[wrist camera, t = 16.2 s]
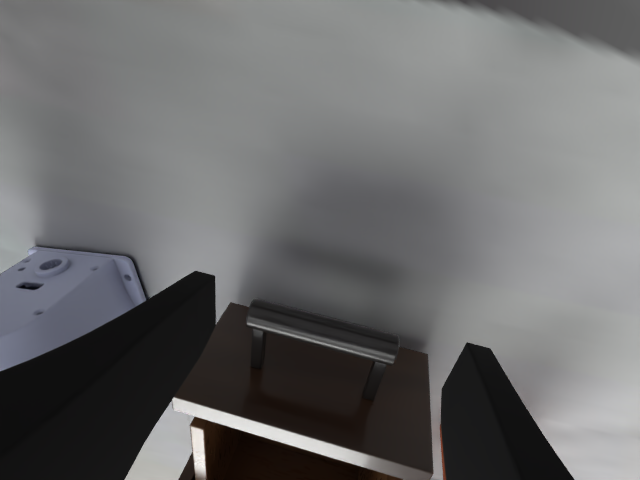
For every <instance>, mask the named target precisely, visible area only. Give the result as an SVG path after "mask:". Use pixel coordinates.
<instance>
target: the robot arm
mask: <svg viewBox="0 0 640 480" xmlns="http://www.w3.org/2000/svg"><path fill="white" fill-rule="evenodd" d="M28 255H29V256H28V257H27V258H25V259H23V260H22V261H20V262H19V263H17V264H15V265H14V266H12V267H11V268H9V269H7V270H6V271H4V272H3V273H1V274H0V480H124V479H125V477H126V476H127V474H128V472H129V470H130V468H131V466H132V465H133V463H134V461H135V459H136V457H137V455H138V453H139V452H140V450H141V448H142V446H143V444H144V442H145V441H146V439H147V438H148V436H149V434H150V433H151V431H152V429H153V428H154V426H155V425H156V423H157V422H158V420H159V419H160V417H161V416H162V414H163V413H164V411H165V410H166V408H167V407H168V405H169V404H170V402H171V401H172V399H173V398H174V396H175V395H176V393H177V392H178V390H179V389H180V387H181V386H182V384H183V383H184V381H185V379H186V378H187V376H188V375H189V373H190V372H191V370H192V369H193V367H194V366H195V364H196V363H197V361H198V360H199V358H200V356H201V354H202V352H203V351H204V349H205V347H206V345H207V343H208V341H209V339H210V337H211V335H212V332H213V330H214V328H215V326H216V310H215V276H213V275H210V274H206V273H202V272H198V271H194V272H193V273H191V274H189V275H187V276H186V277H184V278H182V279H181V280H179V281H177V282H176V283H174V284H173V285H171V286H169V287H168V288H166V289H164V290H163V291H161V292H160V293H158V294H156V295H155V296H153V297H151V298H150V299H148V300H146V298H145V295H144V292H143V289H142V286H141V284H140V281H139V278H138V275H137V272H136V270H135V267H134V264H133V262H132V260H131V259H130V258H128V257H126V256H119V255H110V254H100V253H91V252H81V251H72V250H62V249H53V248H43V247H32V248H30V249H29V250H28ZM441 433H442V444H443V454H444V464H445V474H446V480H574V478H573V477H572V476H571V474H570V473H569V471H568V470H567V468H566V467H565V466H564V464H563V463H562V461H561V460H560V459H559V457H558V456H557V454H556V453H555V451H554V450H553V448H552V447H551V445H550V444H549V443H548V441H547V440H546V438H545V437H544V435H543V434H542V432H541V430H540V429H539V427H538V426H537V424H536V423H535V421H534V420H533V418H532V416H531V415H530V413H529V412H528V410H527V409H526V407H525V405H524V404H523V402H522V401H521V399H520V397H519V396H518V394H517V392H516V391H515V389H514V387H513V386H512V384H511V382H510V381H509V379H508V377H507V376H506V374H505V372H504V371H503V369H502V367H501V366H500V364H499V362H498V361H497V359H496V357H495V356H494V354H493V352H492V351H491V349H490V348H486V347H483V346H479V345H475V344H471V343H466V345H465V347H464V349H463V351H462V352H461V354H460V356H459V358H458V360H457V362H456V364H455V365H454V367H453V369H452V371H451V373H450V375H449V376H448V378H447V380H446V382H445V384H444V386H443V388H442V398H441Z"/></svg>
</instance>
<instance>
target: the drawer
mask: <svg viewBox="0 0 640 480" xmlns="http://www.w3.org/2000/svg"><path fill="white" fill-rule="evenodd" d="M172 406H173V410H175V411H178V412H182V413H185V414H188V415H192V416H195V417H194V419H193V421H192V422H191V424H190V430H191V440H192V451H193V461H194V472H195V480H403V479H404V480H430V478H431V476H432V475H433V455H432V432H431V410H430V387H429V365H428V354H425V353H421V352H417V351H414V350H410V349H406V348H402V347H399V336H398V335H395V334H391V333H387V332H384V331H380V330H376V329H372V328H368V327H364V326H361V325H357V324H353V323H349V322H345V321H341V320H338V319H334V318H330V317H326V316H322V315H318V314H315V313H311V312H307V311H303V310H299V309H295V308H292V307H288V306H284V305H280V304H276V303H272V302H269V301H265V300H261V299H257V298H256V299H254V300H253V301H252V303H251V305H250V307H247V306H243V305H239V304H236V303H232V302H231V303H230V304H229V305H228V307H227V309H226V310H225V312H224V313H223V315H222V316H221V318H220V320H219V321H218V323H217V324H216V326H215V328H214V330H213V332H212V335H211V337H210V339H209V341H208V343H207V345H206V347H205V349H204V351H203V352H202V354H201V356H200V358H199V360H198V361H197V363H196V364H195V366H194V367H193V369H192V370H191V372H190V373H189V375H188V376H187V378H186V379H185V381H184V383H183V384H182V386H181V387H180V389H179V390H178V392H177V393H176V395H175V396H174V398H173V399H172Z"/></svg>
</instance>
